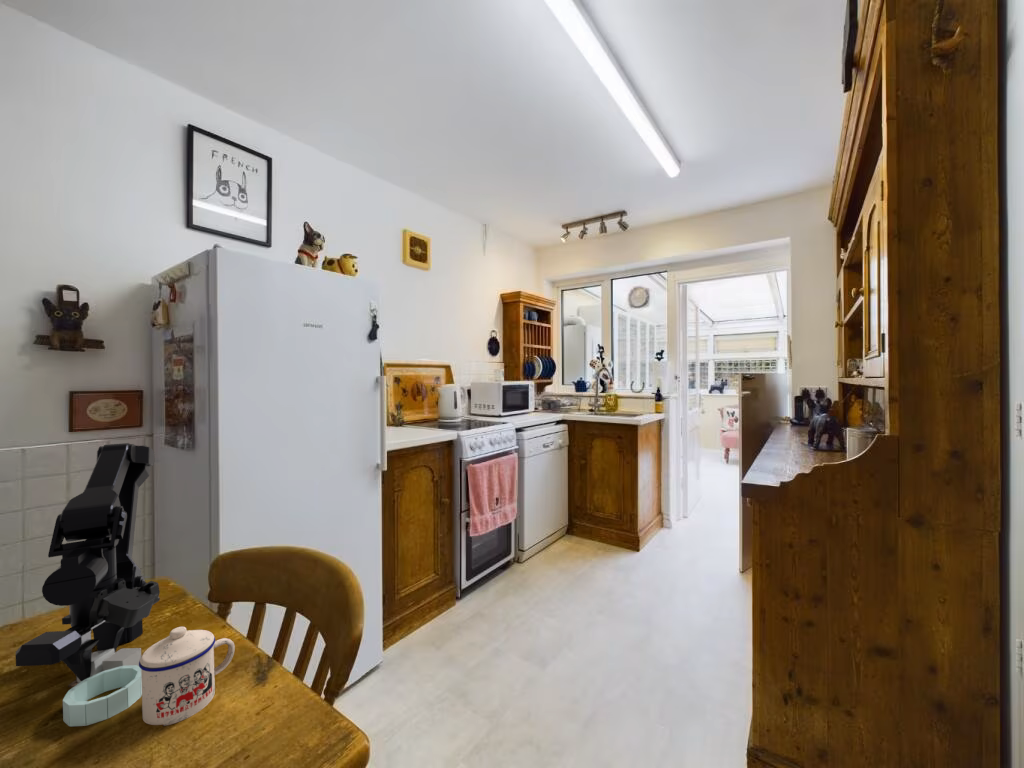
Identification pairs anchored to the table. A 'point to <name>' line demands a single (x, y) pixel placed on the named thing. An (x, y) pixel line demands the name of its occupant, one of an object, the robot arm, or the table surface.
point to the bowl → (105, 707)
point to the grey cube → (122, 658)
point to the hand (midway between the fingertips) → (96, 672)
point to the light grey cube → (98, 661)
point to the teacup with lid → (180, 675)
